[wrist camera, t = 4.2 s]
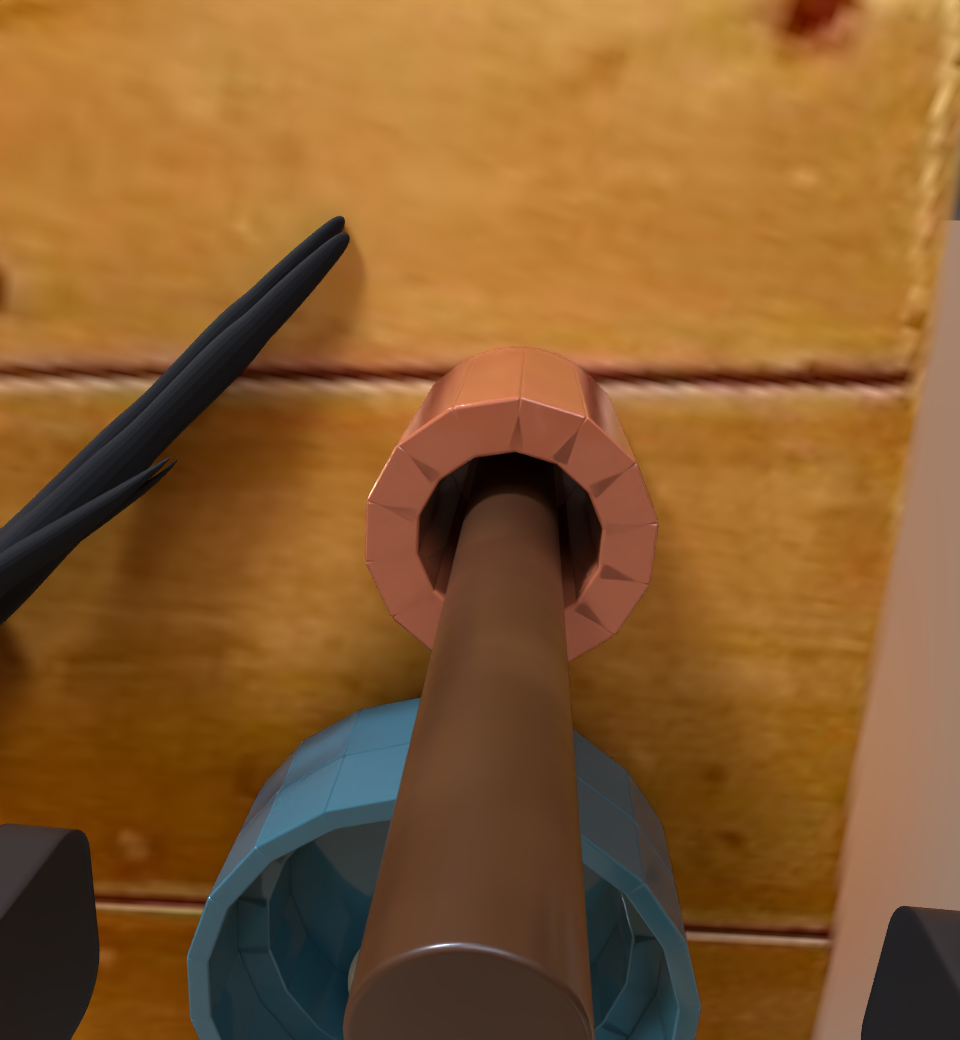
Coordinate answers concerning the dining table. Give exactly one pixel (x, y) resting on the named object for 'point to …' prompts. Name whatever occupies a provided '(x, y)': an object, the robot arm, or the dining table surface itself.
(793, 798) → the dining table surface
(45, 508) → the black elongated part
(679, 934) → the bowl
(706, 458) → the dining table surface
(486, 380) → the holder
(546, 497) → the stick
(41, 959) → the robot arm
